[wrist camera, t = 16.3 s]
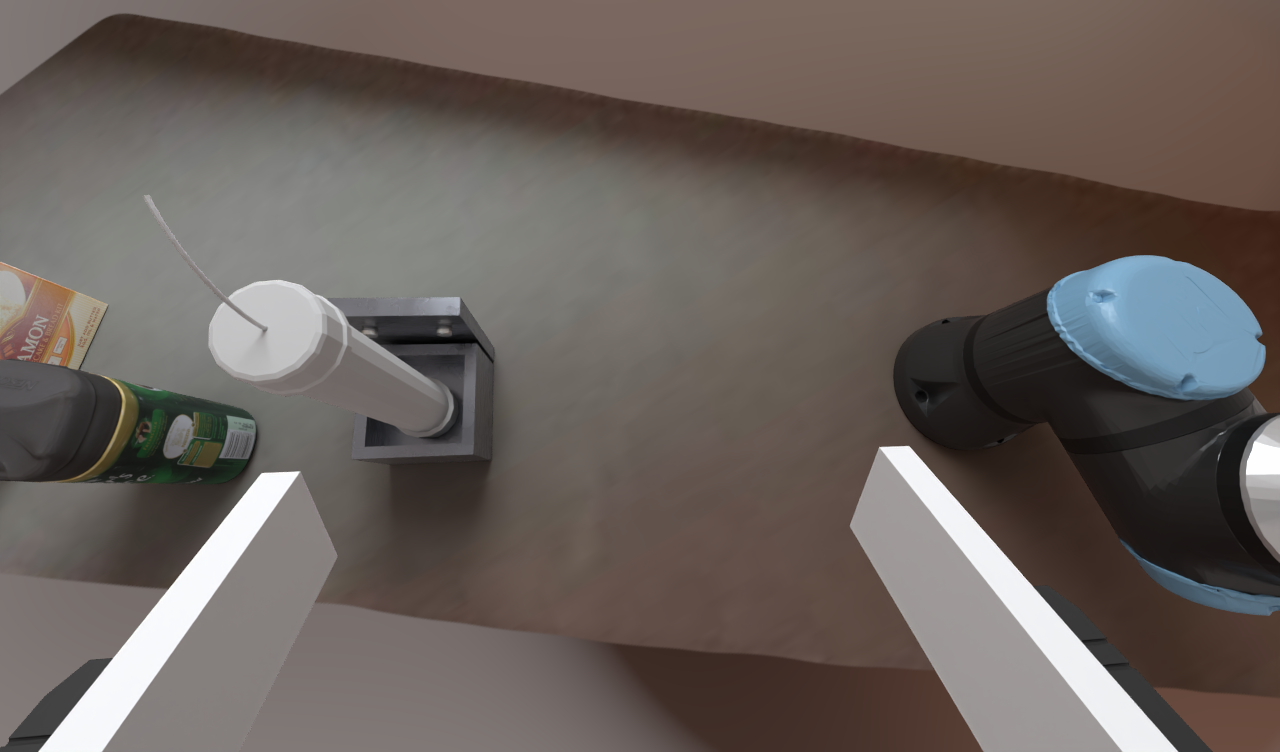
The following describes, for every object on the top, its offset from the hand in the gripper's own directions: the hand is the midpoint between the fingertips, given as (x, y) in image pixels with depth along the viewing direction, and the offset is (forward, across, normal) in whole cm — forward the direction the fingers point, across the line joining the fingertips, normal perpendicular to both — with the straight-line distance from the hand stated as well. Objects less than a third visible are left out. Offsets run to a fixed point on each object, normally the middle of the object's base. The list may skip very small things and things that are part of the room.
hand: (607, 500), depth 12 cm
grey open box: (+34, -16, -22) cm, 43 cm away
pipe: (+32, -16, -19) cm, 40 cm away
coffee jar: (+33, -38, -24) cm, 55 cm away
